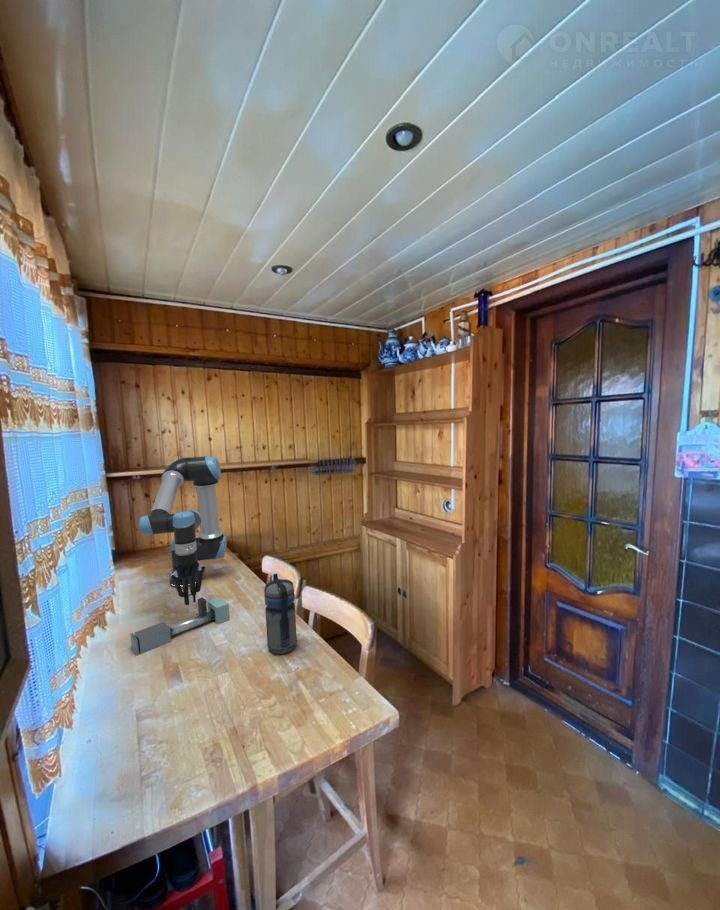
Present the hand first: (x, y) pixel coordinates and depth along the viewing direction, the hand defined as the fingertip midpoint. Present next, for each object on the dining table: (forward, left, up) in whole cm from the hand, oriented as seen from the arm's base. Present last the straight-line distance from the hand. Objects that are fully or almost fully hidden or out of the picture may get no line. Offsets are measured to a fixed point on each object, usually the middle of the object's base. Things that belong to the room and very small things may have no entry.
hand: (190, 611), depth 145 cm
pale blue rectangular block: (0, +11, -7) cm, 13 cm away
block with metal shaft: (0, 0, -7) cm, 7 cm away
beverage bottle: (+38, +17, -7) cm, 42 cm away
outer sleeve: (0, -14, -7) cm, 15 cm away
